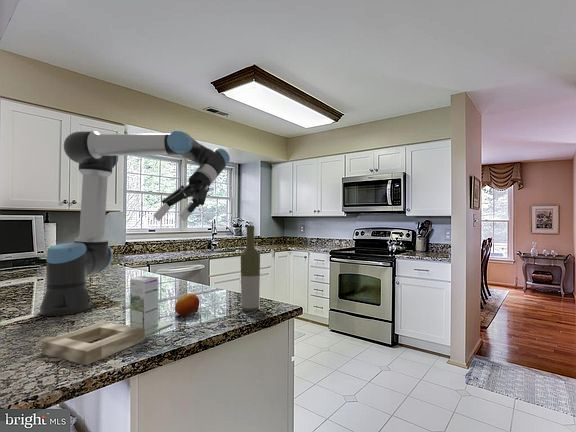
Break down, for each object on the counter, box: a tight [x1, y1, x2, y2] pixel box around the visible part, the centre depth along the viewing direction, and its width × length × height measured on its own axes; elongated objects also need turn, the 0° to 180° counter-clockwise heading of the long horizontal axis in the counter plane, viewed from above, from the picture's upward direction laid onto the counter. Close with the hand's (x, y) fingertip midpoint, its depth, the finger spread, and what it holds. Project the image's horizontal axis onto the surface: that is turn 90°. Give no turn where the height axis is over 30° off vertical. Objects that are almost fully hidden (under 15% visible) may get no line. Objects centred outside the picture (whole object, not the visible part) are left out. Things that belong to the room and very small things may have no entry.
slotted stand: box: [41, 321, 146, 366], centre depth 83 cm, size 16×16×3 cm
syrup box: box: [129, 275, 159, 329], centre depth 97 cm, size 6×6×14 cm
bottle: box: [240, 225, 261, 312], centre depth 117 cm, size 7×7×30 cm
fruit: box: [174, 293, 200, 317], centre depth 112 cm, size 8×8×8 cm
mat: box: [126, 320, 173, 337], centre depth 97 cm, size 11×11×1 cm
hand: (168, 218), depth 111 cm, fingers open, 13 cm apart
